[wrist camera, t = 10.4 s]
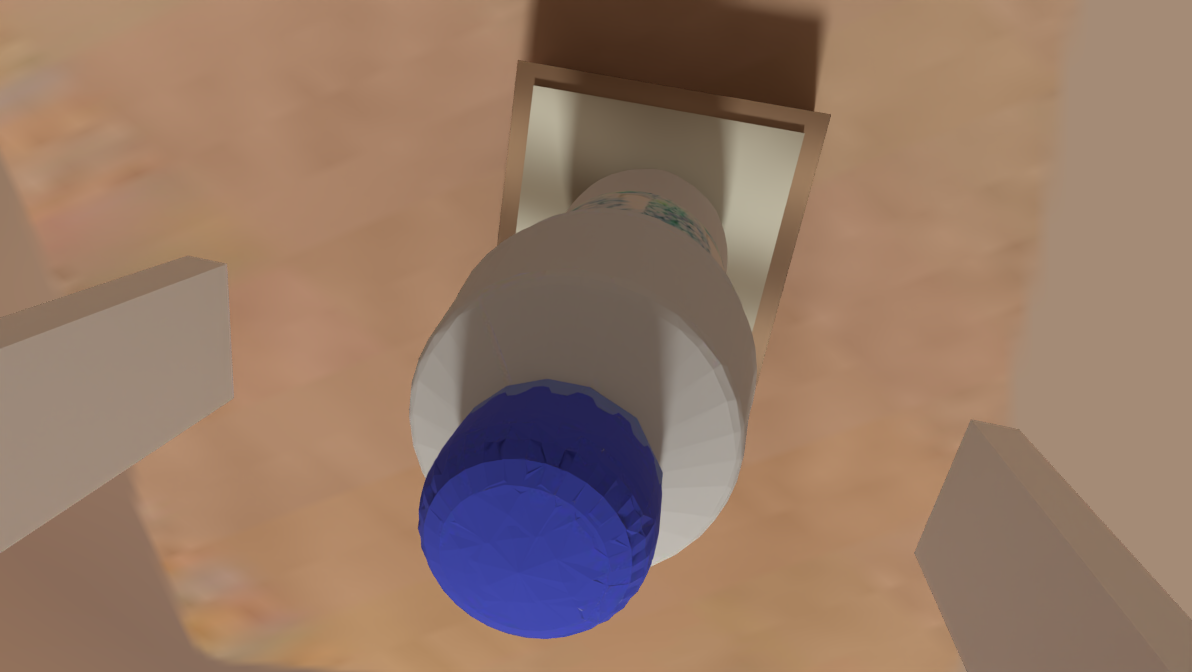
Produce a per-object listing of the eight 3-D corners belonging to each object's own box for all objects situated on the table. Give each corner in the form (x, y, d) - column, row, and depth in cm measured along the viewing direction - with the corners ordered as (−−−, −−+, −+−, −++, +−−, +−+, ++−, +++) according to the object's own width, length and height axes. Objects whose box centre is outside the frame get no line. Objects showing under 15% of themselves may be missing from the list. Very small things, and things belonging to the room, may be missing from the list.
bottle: (703, 339, 28) (705, 823, 9) (550, 298, 28) (256, 683, 10) (752, 181, 25) (889, 404, 7) (584, 138, 26) (281, 241, 7)
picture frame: (541, 64, 29) (515, 59, 25) (814, 112, 28) (832, 114, 24) (509, 317, 34) (484, 347, 30) (746, 367, 33) (752, 404, 29)
